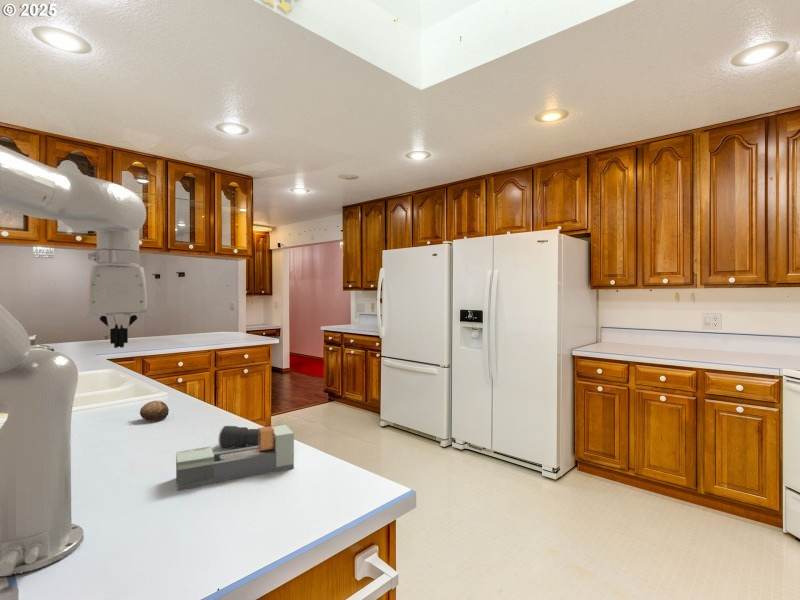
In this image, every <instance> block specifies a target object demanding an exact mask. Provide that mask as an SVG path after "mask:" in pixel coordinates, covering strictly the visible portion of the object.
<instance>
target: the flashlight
mask: <svg viewBox="0 0 800 600" xmlns="http://www.w3.org/2000/svg"><path fill="white" fill-rule="evenodd" d="M218 445H219V447H220V448H229V447H233V448H236V447H238V448H246V447H247V446H248V447H253V446H258V428H248V427H246V426H243V427H242V426H241V427H240V426H237V425H223V426H221V428H220V430H219V433H218Z"/></svg>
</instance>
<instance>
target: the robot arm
mask: <svg viewBox="0 0 800 600" xmlns="http://www.w3.org/2000/svg"><path fill="white" fill-rule="evenodd" d="M0 209H2V210H4V211H9V212H13V213H15V214H20V215H23V216H27V217H31V218H35V219H36V218H37V219H44V220H52V221H61V222H62V223H63V224H64V225H66V226H67V227H69V228H71V229H72V230H76V231H83V232H96V251H94V252H92V253H91V252H89V253H87V257H88V258H87V259H88V260H90V261H94V262H96V265H91V270H90V275H89V280H88V281H89V285H88V297H87V298H88V303H87V304H88V315H87V319H88V320H93V321H97V322H98V321H99V322H102V323H103V324H104V325H105V326H107V328H109V329H110V331H109V333H110V335H109V339H110V344H113V348H114V349H118V348H120V349H121V348H124V347H125V344H128V342H129V337H128V336H129V335H128V333H129V332H128V330H129V327H130V326H131V325H133V323H135V322H136V321H139V320H145V319H147V318H148V317H149V312H148V309H147V306H148V304H147V303H148V293H147V292H148V291H147V279H146V272H145V269H144V267H143V266H140V229H141V228H142V227H143V226H144V225H145V222H146V220H147V209H146V206H145V204H144V202H143V201H142V199H141V197H140V196H139V195H138V194H136V193H135V192H134V191H132V190H130V189H129V188H127V187H124V186H122V185H120V184H118V183H116V182H112V181H110V180H109V181H108V180H105V179H101V178H97V177H93V176H89V175H83V174H80V173H77V172H74V171H69V170H67V169H66V170H65V169H60V168H56V167H52V166H49V165H46V164H45V163H42V162H40V161H37V160H34V159H33V158H30V157H28V156H26V155H24V154H22V153H19V152H17V151H15V150H12V149H11V148H9V147H7V146H3V145H1V144H0ZM116 315H123V317H122V322H121V324H120V327H119V326H118V324H117V322H116V321H117V320H116ZM30 339H31V338H30V335H29V334H28V332H27V331H26V329H25V328H24V327H23V325H22V324H21V323H20V322H19V321H18V320H17V318H16V317H14V315H12V314H11V313H10V312H9V311H8V310H7V309H6V308H5V307H4V306H3V305H2V304H1V303H0V414H7V417H6V420H5V421H4V423H3V424H2V425H1V427H0V577H8V576H9V577H10V576H13V575H12V574H15V575H17V574H16V573H21V572H25V573H28V572H31V571H35V570H37V569H40V568H44V567H46V566H48V565H51V564H53V563H55V562H58V561H59V560H61V559H63V558H64V557H66V556H68V555H69V554H71V553H72V552H73V551H75V550H76V549H77V548H78V547H79V546H80V545H81V543H82V542H83V540H84V530H83V527H81V526H80V525H78V524H75V523H72V457H71V456H72V453H71V452H72V448H71V447H72V446H71V443H72V439H71V438H72V437H71V435H72V433H71V432H72V431H71V429H72V428H71V425H72V414H73V406H74V405H73V404H74V399H75V396H76V392H77V391H76V390H77V386H78V380H79V371H78V367H77V365H76V363H75V362H74V360H73V359H72V358H71V357H69V356H68V355H66V354H64V353H61V352H58V351H53V350H45V349H44V350H43V349H31V347H32V346H31V340H30ZM27 571H28V572H27ZM21 574H22V573H21Z"/></svg>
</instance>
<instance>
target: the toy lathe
mask: <svg viewBox="0 0 800 600" xmlns="http://www.w3.org/2000/svg"><path fill="white" fill-rule="evenodd" d="M272 428H273V429H274V446H275V451H274V452H269V453H263V454H257V455H251V456H245V457H239V458H234V459H228V460H222V461H219V455H223V454H229V453H235V452H241V451H247V450H253V449H259V447H258V446H248V447H247V446H246V447H240V448H235V449H230V450H223V451H217V452H213V448H212V446H206V447H205V446H204V447H199V448H191V449H185V450H179V451H176V452H175V459H176V460H175V461H176V462H175V464H176V468H175V478H176V487H177V488H176V489H177V492H179V491H184V490H189V489H193V488H199V487H204V486H209V485H215V484H219V483H220V484H221V483H224V482H230V481H234V480H235V481H236V480H241V479H245V478H250V477H256V476H261V475H266V474H271V473H276V472H281V471H287V470H292V469H294V468H295V467H294V466H295V465H294V463H295V456H294V455H295V439H294V438H295V437H294V436H295V432H294V431H292V430H291V429H290V427H289V426H288V425H287V424H284V425H283V424H282V425H276V426H272Z"/></svg>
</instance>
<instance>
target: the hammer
mask: <svg viewBox="0 0 800 600" xmlns="http://www.w3.org/2000/svg"><path fill="white" fill-rule="evenodd" d="M272 427H273V426H271V425H270V426H263V427H258V428H257V429H258V447H259V449H253V450H247V451H241V452H235V453H229V454H223V455H219V461H222V460H228V459H234V458H239V457H245V456H251V455H257V454H263V453H269V452H274V451H275V446H274V429H273V428H272Z"/></svg>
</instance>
